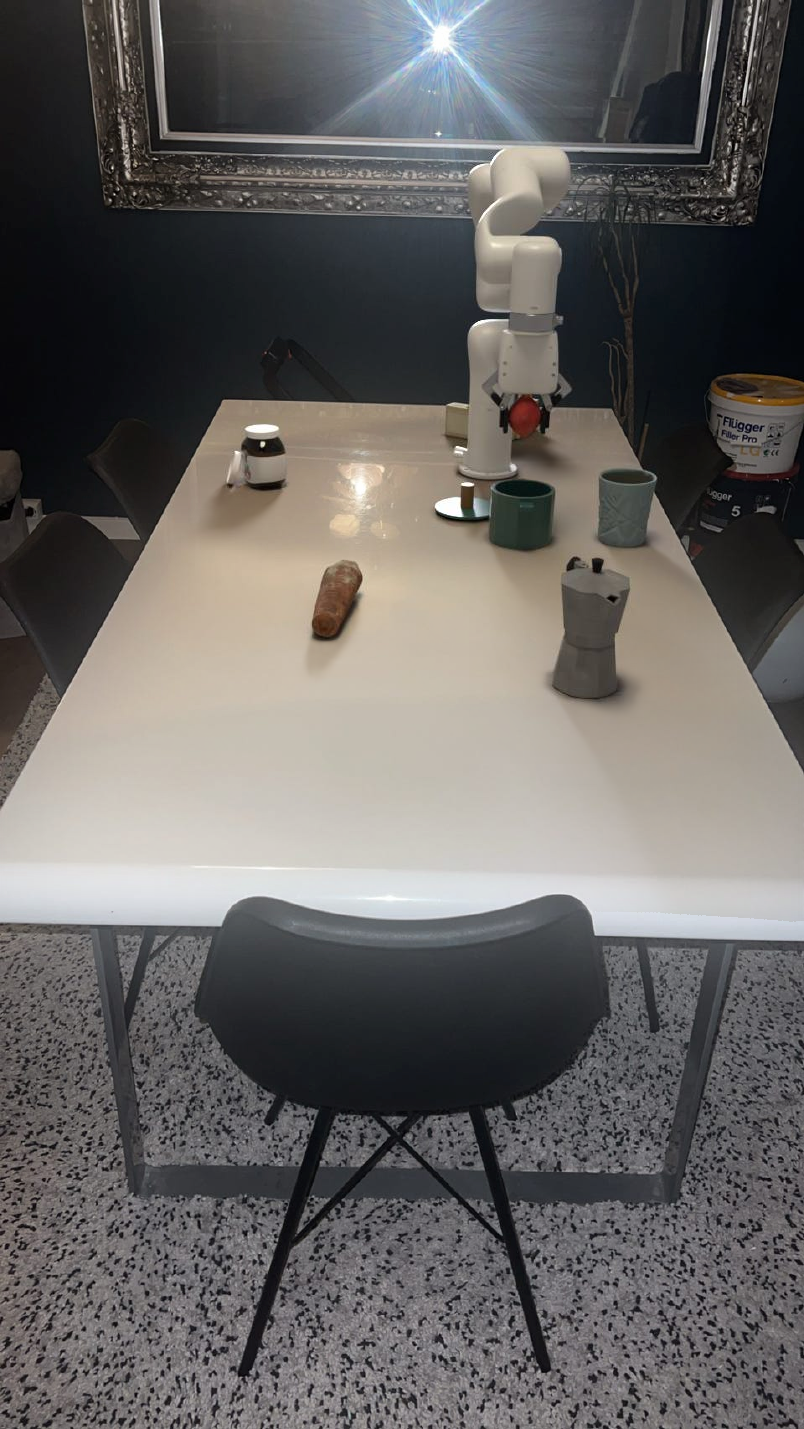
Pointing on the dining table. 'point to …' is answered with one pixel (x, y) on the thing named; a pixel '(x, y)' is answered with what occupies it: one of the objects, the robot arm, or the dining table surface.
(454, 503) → the pot lid
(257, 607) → the dining table surface
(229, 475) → the spread jar
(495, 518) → the pot
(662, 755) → the dining table surface
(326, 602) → the brown root vegetable
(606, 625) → the coffeepot
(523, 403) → the onion
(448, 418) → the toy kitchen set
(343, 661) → the dining table surface
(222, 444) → the dining table surface
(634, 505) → the light blue cup
